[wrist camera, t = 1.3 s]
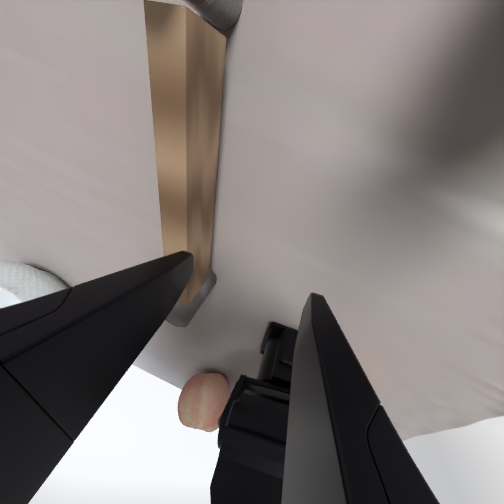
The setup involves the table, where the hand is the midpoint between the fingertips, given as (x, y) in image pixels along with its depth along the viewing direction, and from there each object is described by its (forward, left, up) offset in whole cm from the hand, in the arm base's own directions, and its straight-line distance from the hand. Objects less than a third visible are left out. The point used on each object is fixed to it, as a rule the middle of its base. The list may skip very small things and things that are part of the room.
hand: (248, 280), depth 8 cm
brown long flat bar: (-3, +7, -12) cm, 14 cm away
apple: (-34, +4, -12) cm, 36 cm away
